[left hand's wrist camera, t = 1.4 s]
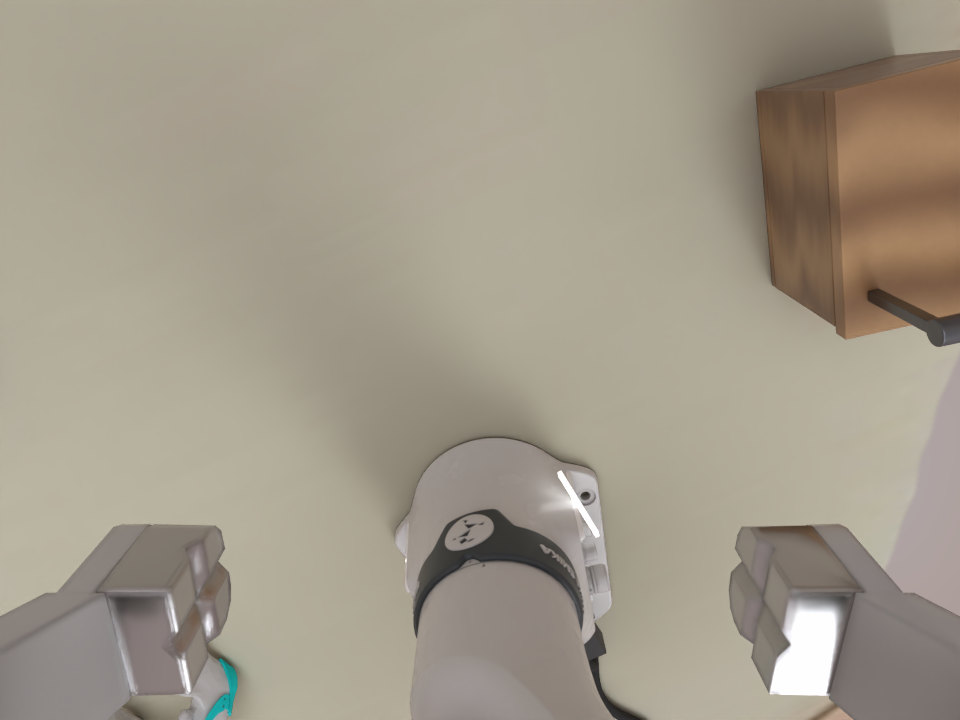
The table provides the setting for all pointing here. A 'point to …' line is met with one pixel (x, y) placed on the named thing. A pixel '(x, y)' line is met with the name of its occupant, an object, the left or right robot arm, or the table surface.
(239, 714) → the table surface
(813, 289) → the chest
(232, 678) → the anatomical model
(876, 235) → the lid
